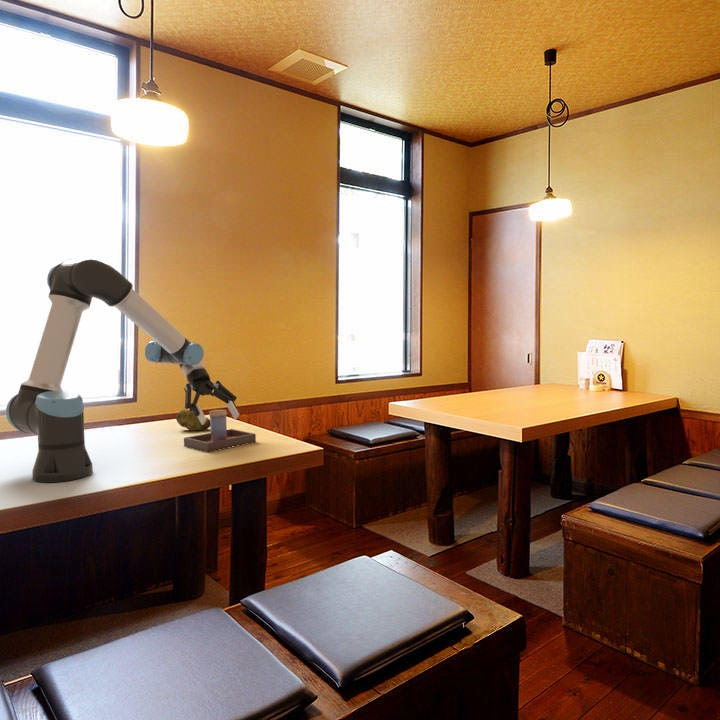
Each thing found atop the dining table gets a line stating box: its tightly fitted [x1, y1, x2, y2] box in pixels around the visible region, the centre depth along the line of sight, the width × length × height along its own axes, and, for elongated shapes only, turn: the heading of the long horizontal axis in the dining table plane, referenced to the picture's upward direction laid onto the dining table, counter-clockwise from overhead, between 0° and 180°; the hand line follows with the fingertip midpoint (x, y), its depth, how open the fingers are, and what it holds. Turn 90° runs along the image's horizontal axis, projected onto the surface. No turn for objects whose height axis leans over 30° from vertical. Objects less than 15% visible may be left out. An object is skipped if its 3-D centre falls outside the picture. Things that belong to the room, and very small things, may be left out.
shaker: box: [208, 409, 228, 442], centre depth 199 cm, size 6×6×11 cm
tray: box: [183, 428, 257, 453], centre depth 199 cm, size 20×14×3 cm
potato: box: [175, 409, 210, 432], centre depth 225 cm, size 8×13×8 cm, turn 74°
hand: (221, 419), depth 199 cm, fingers open, 13 cm apart
